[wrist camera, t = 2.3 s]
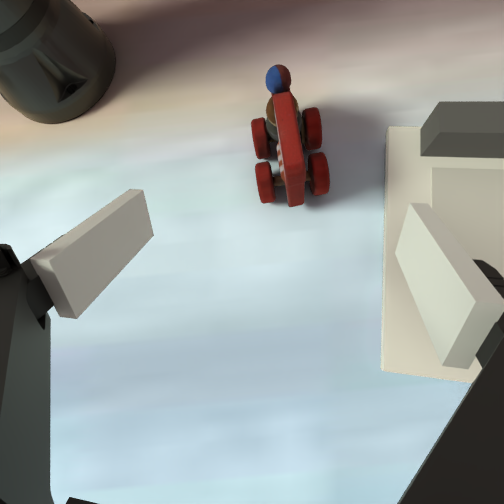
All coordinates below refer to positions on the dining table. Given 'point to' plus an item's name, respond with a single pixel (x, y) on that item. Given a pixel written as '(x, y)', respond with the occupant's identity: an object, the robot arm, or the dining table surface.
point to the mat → (458, 223)
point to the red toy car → (288, 143)
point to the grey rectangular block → (464, 130)
